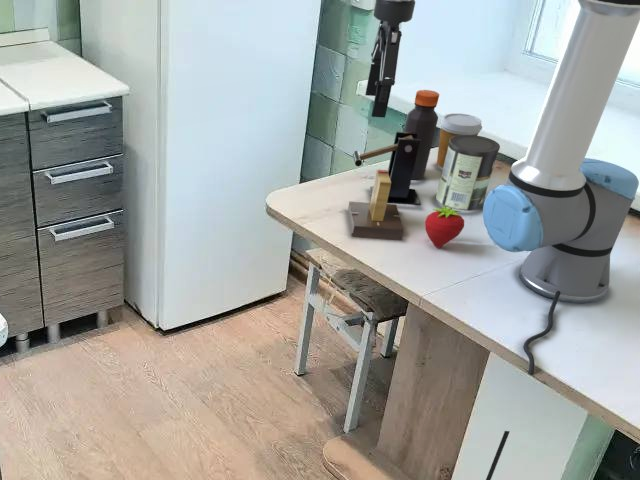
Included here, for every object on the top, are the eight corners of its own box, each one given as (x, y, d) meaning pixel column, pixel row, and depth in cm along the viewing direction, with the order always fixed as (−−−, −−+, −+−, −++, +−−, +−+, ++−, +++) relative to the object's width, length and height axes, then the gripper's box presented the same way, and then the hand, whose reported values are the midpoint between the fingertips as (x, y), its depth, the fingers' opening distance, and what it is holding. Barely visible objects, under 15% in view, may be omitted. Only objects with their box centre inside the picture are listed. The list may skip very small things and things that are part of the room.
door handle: (356, 169, 174) (354, 159, 173) (354, 159, 179) (351, 149, 177) (416, 151, 170) (414, 141, 169) (412, 142, 175) (410, 132, 173)
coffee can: (473, 194, 183) (490, 134, 175) (488, 214, 175) (507, 152, 166) (428, 193, 183) (443, 133, 175) (441, 213, 175) (457, 151, 166)
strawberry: (460, 255, 160) (473, 209, 154) (421, 253, 160) (433, 207, 154) (454, 242, 164) (466, 196, 158) (416, 239, 165) (428, 194, 159)
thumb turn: (382, 221, 166) (391, 181, 160) (372, 220, 166) (380, 180, 161) (379, 209, 170) (388, 169, 165) (369, 208, 171) (377, 169, 165)
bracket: (373, 205, 178) (386, 141, 169) (369, 191, 184) (382, 127, 175) (419, 209, 177) (435, 143, 168) (413, 193, 183) (429, 130, 174)
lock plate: (401, 240, 165) (404, 228, 163) (351, 237, 165) (353, 225, 164) (394, 215, 174) (396, 203, 172) (346, 211, 175) (349, 200, 173)
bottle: (405, 170, 194) (424, 86, 182) (428, 179, 190) (450, 94, 178) (387, 176, 191) (406, 92, 178) (411, 186, 186) (431, 100, 174)
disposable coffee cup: (478, 170, 194) (492, 122, 187) (451, 178, 190) (465, 129, 183) (447, 157, 201) (459, 110, 193) (421, 165, 197) (432, 116, 189)
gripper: (425, 13, 147) (400, 127, 160) (407, -16, 166) (386, 88, 179) (383, 11, 147) (362, 125, 160) (370, -17, 167) (352, 86, 180)
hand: (374, 105), depth 170 cm, fingers open, 13 cm apart
